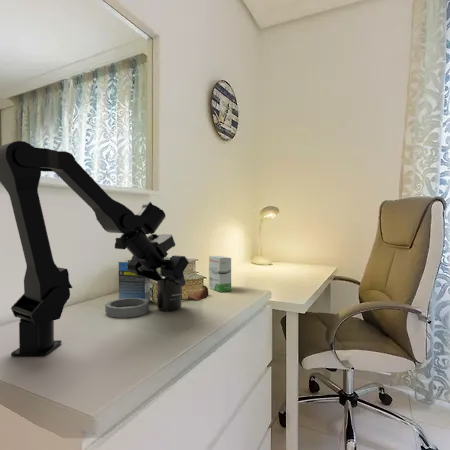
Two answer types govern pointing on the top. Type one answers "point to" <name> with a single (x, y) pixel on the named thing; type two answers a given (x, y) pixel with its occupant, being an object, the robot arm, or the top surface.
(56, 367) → the top surface
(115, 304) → the ring seat
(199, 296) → the sunglasses case
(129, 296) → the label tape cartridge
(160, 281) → the supplement bottle
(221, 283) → the ink box
